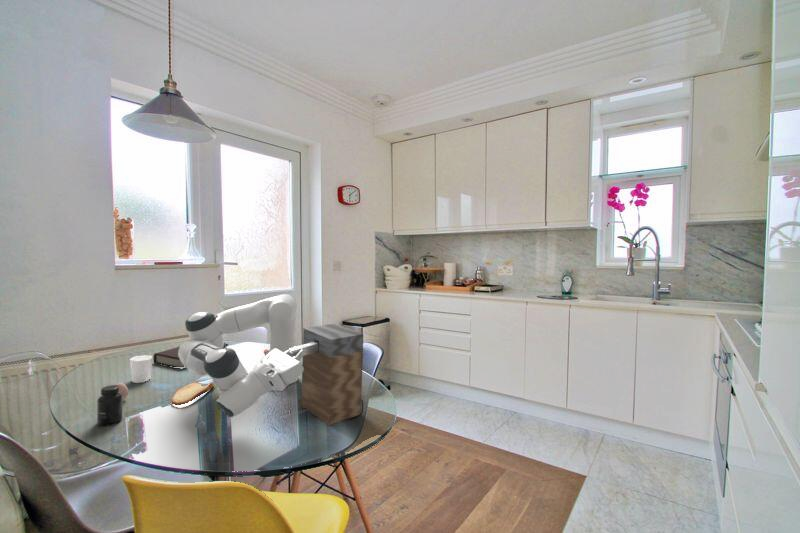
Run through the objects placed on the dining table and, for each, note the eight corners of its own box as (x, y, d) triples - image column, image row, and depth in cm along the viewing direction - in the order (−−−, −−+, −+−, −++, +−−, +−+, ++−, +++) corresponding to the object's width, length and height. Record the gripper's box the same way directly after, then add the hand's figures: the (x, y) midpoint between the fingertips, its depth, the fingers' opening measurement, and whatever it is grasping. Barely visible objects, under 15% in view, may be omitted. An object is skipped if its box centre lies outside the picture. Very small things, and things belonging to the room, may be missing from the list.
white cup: (155, 379, 161) (155, 357, 160) (135, 385, 154) (135, 362, 154) (147, 375, 165) (147, 354, 165) (127, 380, 159) (126, 358, 158)
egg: (108, 405, 135) (108, 386, 135) (113, 399, 140) (113, 381, 140) (125, 403, 137) (125, 384, 137) (129, 397, 142) (129, 379, 142)
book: (201, 349, 207) (201, 339, 207) (227, 354, 200) (227, 344, 200) (153, 364, 181) (153, 352, 180) (181, 370, 174) (181, 358, 174)
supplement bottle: (94, 428, 119) (94, 392, 118) (100, 419, 125) (99, 385, 125) (120, 424, 122) (120, 389, 122) (124, 415, 128) (124, 382, 128)
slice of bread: (176, 411, 134) (176, 401, 134) (161, 395, 146) (161, 386, 146) (225, 397, 147) (226, 388, 147) (209, 384, 159) (209, 376, 159)
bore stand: (328, 425, 127) (331, 339, 125) (301, 405, 142) (303, 328, 140) (360, 414, 137) (363, 334, 135) (332, 396, 151) (334, 323, 149)
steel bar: (292, 359, 125) (291, 351, 125) (288, 357, 127) (287, 348, 127) (335, 345, 137) (335, 338, 136) (331, 344, 139) (330, 336, 139)
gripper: (259, 373, 130) (291, 349, 137) (284, 392, 115) (318, 363, 122) (250, 360, 127) (283, 336, 135) (275, 378, 112) (310, 349, 120)
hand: (300, 349), depth 129 cm, fingers closed on steel bar, 3 cm apart
